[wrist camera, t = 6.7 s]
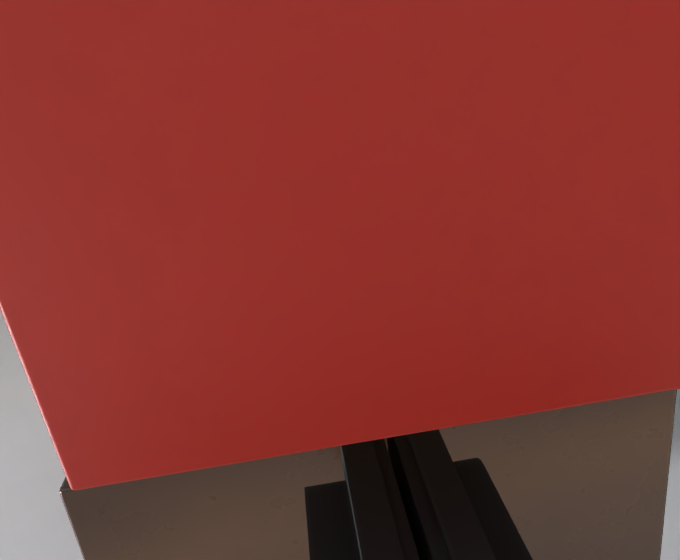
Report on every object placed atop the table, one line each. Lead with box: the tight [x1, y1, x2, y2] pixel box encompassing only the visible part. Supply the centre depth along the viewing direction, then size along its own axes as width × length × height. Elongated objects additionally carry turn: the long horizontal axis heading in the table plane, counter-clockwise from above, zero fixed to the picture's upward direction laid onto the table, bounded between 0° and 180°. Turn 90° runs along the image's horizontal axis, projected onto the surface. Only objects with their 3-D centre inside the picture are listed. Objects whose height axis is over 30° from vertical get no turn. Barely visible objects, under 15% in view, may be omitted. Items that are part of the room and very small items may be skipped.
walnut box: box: [60, 389, 677, 560], centre depth 17 cm, size 9×13×6 cm
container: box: [0, 0, 680, 490], centre depth 10 cm, size 11×7×13 cm
